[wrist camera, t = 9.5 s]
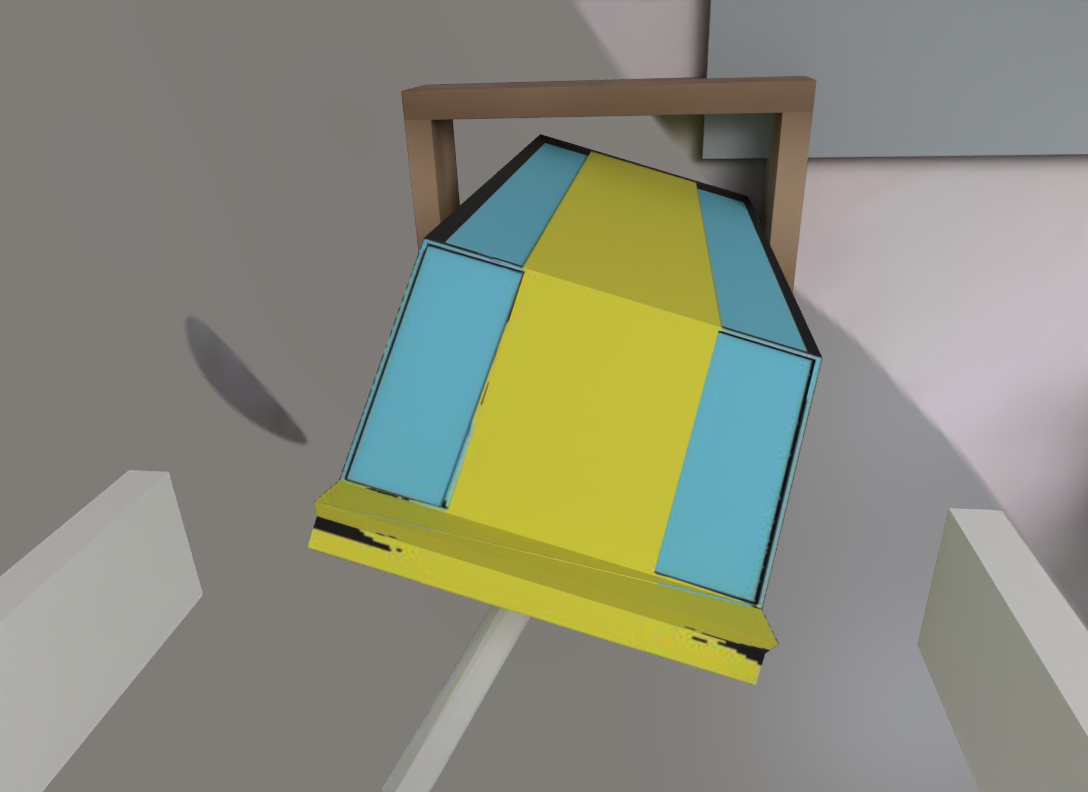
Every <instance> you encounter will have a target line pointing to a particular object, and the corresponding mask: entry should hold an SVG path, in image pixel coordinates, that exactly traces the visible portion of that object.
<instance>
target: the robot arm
mask: <svg viewBox="0 0 1088 792" xmlns="http://www.w3.org/2000/svg"><path fill="white" fill-rule="evenodd" d="M202 595H203V593H202V590H201V586H200V583H199V579H198V575H197V572H196V568H195V565H194V561H193V558H192V554H191V551H190V547H189V543H188V540H187V536H186V533H185V529H184V526H183V522H182V519H181V515H180V511H179V508H178V504H177V501H176V497H175V493H174V490H173V486H172V483H171V479H170V476H169V472H152V471H132V470H131V471H130V470H129V471H128V472H127V473H126V474H124V475H123V476H122V477H121V478H119V480H117V481H116V482H115V483H113V484H112V485H111V486H110V487H109V488H107V489H106V490H105V491H104V492H102V493H101V494H100V495H99V496H98V497H96V498H95V499H94V500H93V501H92V502H90V503H89V504H88V505H87V506H85V507H84V508H83V509H82V510H81V511H79V512H78V513H77V514H76V515H75V516H73V517H72V518H71V519H70V520H69V521H67V522H66V523H65V524H64V525H62V526H61V527H60V528H59V529H58V530H56V531H55V532H54V533H53V534H52V535H50V536H49V537H48V538H47V539H45V540H44V541H43V542H42V543H41V544H40V545H38V546H37V547H36V548H35V549H33V550H32V551H31V552H30V553H28V554H27V555H26V556H25V557H24V558H22V559H21V560H20V561H19V562H17V563H16V564H15V565H14V566H13V567H11V568H10V569H9V570H8V571H7V572H5V573H4V574H3V575H2V576H0V792H43V790H44V789H45V788H46V787H47V785H48V784H49V783H50V782H51V780H52V779H53V778H54V777H55V775H56V774H57V773H58V772H59V770H60V769H61V768H62V767H63V765H64V764H65V763H66V762H67V761H68V760H69V758H70V757H71V756H72V755H73V753H74V752H75V751H76V750H77V749H78V747H79V746H80V745H81V743H82V742H83V741H84V740H85V739H86V737H87V736H88V735H89V734H90V732H91V731H92V730H93V729H94V728H95V726H96V725H97V724H98V723H99V722H100V720H101V719H102V718H103V717H104V715H105V714H106V713H107V712H108V710H109V709H110V708H111V707H112V706H113V704H114V703H115V702H116V701H117V699H118V698H119V697H120V696H121V694H122V693H123V692H124V691H125V690H126V688H127V687H128V686H129V685H130V683H131V682H132V681H133V680H134V678H135V677H136V676H137V675H138V674H139V672H140V671H141V670H142V669H143V667H144V666H145V665H146V664H147V663H148V661H149V660H150V659H151V658H152V656H153V655H154V654H155V653H156V652H157V650H158V649H159V648H160V647H161V645H162V644H163V643H164V642H165V640H166V639H167V638H168V637H169V636H170V634H171V633H172V632H173V631H174V629H175V628H176V627H177V626H178V624H179V623H180V622H181V621H182V620H183V618H184V617H185V616H186V615H187V613H188V612H189V611H190V610H191V609H192V607H193V606H194V605H195V604H196V602H197V601H198V600H199V599H200V597H201V596H202ZM918 646H919V649H920V651H921V654H922V656H923V658H924V660H925V663H926V665H927V668H928V670H929V672H930V675H931V677H932V679H933V682H934V684H935V686H936V689H937V692H938V694H939V696H940V699H941V701H942V703H943V705H944V708H945V710H946V713H947V715H948V718H949V720H950V722H951V725H952V727H953V729H954V732H955V734H956V737H957V739H958V741H959V743H960V746H961V748H962V750H963V753H964V756H965V758H966V760H967V763H968V765H969V767H970V770H971V772H972V774H973V777H974V779H975V782H976V784H977V786H978V789H979V791H980V792H1088V630H1087V629H1086V628H1085V626H1084V625H1083V623H1082V622H1081V621H1080V619H1079V618H1078V616H1077V615H1076V614H1075V612H1074V611H1073V609H1072V608H1071V607H1070V605H1069V604H1068V602H1067V601H1066V600H1065V598H1064V597H1063V595H1062V594H1061V593H1060V591H1059V590H1058V588H1057V587H1056V586H1055V584H1054V583H1053V582H1052V580H1051V579H1050V577H1049V576H1048V575H1047V573H1046V572H1045V570H1044V569H1043V568H1042V566H1041V565H1040V563H1039V562H1038V561H1037V559H1036V558H1035V556H1034V555H1033V554H1032V552H1031V551H1030V549H1029V548H1028V547H1027V545H1026V544H1025V542H1024V541H1023V540H1022V538H1021V537H1020V535H1019V534H1018V533H1017V531H1016V530H1015V528H1014V527H1013V526H1012V524H1011V523H1010V521H1009V520H1008V519H1007V517H1006V516H1005V515H1004V513H1003V512H1002V511H1001V510H979V509H978V510H977V509H957V508H956V509H955V508H949V510H948V514H947V518H946V522H945V527H944V531H943V536H942V540H941V544H940V549H939V553H938V557H937V561H936V566H935V570H934V575H933V579H932V583H931V588H930V592H929V597H928V601H927V605H926V610H925V614H924V618H923V623H922V627H921V631H920V636H919V640H918Z"/></svg>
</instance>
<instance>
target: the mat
mask: <svg viewBox="0 0 1088 792" xmlns="http://www.w3.org/2000/svg"><path fill="white" fill-rule="evenodd" d="M779 76H807V77H810V78H812V79H815V80H817V81H816V90H815V99H814V108H813V117H812V126H811V135H810V143H809V152H808V158H811V157H892V156H974V155H1055V154H1088V0H710V15H709V34H708V52H707V70H706V78H742V77H779ZM772 124H773V113H734V114H704V126H703V144H702V158H703V159H729V158H769V157H770V146H771V135H772Z"/></svg>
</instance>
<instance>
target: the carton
mask: <svg viewBox="0 0 1088 792" xmlns="http://www.w3.org/2000/svg"><path fill="white" fill-rule="evenodd" d="M821 362H822V356H821V354H820V352H819V350H818V348H817V345H816V343H815V341H814V339H813V337H812V334H811V332H810V330H809V328H808V326H807V324H806V322H805V319H804V317H803V315H802V313H801V311H800V309H799V306H798V304H797V302H796V300H795V298H794V295H793V293H792V291H791V289H790V287H789V285H788V282H787V280H786V278H785V276H784V274H783V272H782V269H781V267H780V265H779V263H778V261H777V259H776V256H775V254H774V252H773V250H772V248H771V246H770V243H769V241H768V239H767V237H766V235H765V233H764V230H763V228H762V226H761V224H760V222H759V220H758V217H757V215H756V213H755V211H754V209H753V207H752V204H751V202H750V200H749V198H748V196H745V195H741V194H738V193H735V192H731V191H728V190H725V189H721V188H718V187H715V186H711V185H708V184H705V183H701V182H698V181H694V180H691V179H688V178H684V177H681V176H678V175H674V174H671V173H668V172H665V171H661V170H657V169H655V168H651V167H648V166H645V165H641V164H638V163H635V162H631V161H628V160H625V159H621V158H618V157H614V156H611V155H607V154H605V153H601V152H598V151H594V150H591V149H588V148H585V147H581V146H578V145H575V144H571V143H568V142H564V141H561V140H558V139H554V138H551V137H548V136H544V135H541V134H540V135H539V136H538V137H537V138H536V139H535V140H533V141H532V142H531V143H530V144H529V145H528V146H527V147H526V148H524V149H523V150H522V151H521V152H520V153H519V154H518V155H517V156H515V157H514V158H513V159H512V160H511V161H510V162H509V163H508V164H507V165H505V166H504V167H503V168H502V169H501V170H500V171H498V172H497V173H496V174H495V175H494V176H493V177H492V178H491V179H489V180H488V181H487V182H486V183H485V184H484V185H483V186H482V187H480V188H479V189H478V190H477V191H476V192H475V193H474V194H473V195H471V196H470V197H469V198H468V199H467V200H466V201H465V202H464V203H462V204H461V205H460V206H459V207H458V208H457V209H456V210H455V211H453V212H452V213H451V214H450V215H449V216H448V217H447V218H446V219H444V220H443V221H442V222H441V223H440V224H439V225H438V226H437V227H435V228H434V229H433V230H432V231H431V232H430V233H429V234H428V235H426V236H425V237H424V239H423V242H422V245H421V247H420V250H419V253H418V256H417V259H416V262H415V265H414V268H413V271H412V273H411V276H410V279H409V282H408V285H407V288H406V291H405V293H404V296H403V299H402V302H401V305H400V308H399V310H398V313H397V317H396V319H395V322H394V325H393V328H392V330H391V333H390V337H389V339H388V342H387V345H386V348H385V351H384V353H383V356H382V359H381V362H380V365H379V368H378V370H377V373H376V376H375V379H374V382H373V385H372V388H371V390H370V393H369V397H368V399H367V402H366V405H365V408H364V410H363V413H362V416H361V419H360V422H359V425H358V428H357V430H356V433H355V436H354V439H353V442H352V445H351V448H350V451H349V454H348V456H347V459H346V462H345V465H344V468H343V471H342V474H341V476H340V479H339V481H337V482H336V483H335V484H334V485H333V486H332V487H331V488H329V489H328V490H327V491H326V492H324V493H323V494H322V495H321V496H320V497H319V498H317V499H316V500H315V501H314V503H315V508H316V513H317V518H316V521H315V525H314V528H313V531H312V534H311V538H310V541H309V544H308V547H307V548H308V549H312V550H315V551H318V552H321V553H324V554H328V555H331V556H334V557H337V558H341V559H344V560H348V561H351V562H354V563H357V564H361V565H363V566H367V567H370V568H374V569H376V570H380V571H383V572H386V573H390V574H393V575H396V576H399V577H403V578H406V579H409V580H413V581H416V582H419V583H422V584H425V585H428V586H432V587H435V588H438V589H442V590H445V591H448V592H451V593H454V594H458V595H461V596H464V597H467V598H471V599H474V600H477V601H481V602H484V603H487V604H490V605H492V606H491V607H490V609H489V611H488V612H487V614H486V616H485V618H484V619H483V621H482V623H481V624H480V626H479V628H478V629H477V631H476V633H475V634H474V636H473V638H472V640H471V641H470V643H469V644H468V646H467V648H466V649H465V651H464V653H463V655H462V656H461V658H460V659H459V661H458V663H457V665H456V666H455V668H454V669H453V671H452V673H451V675H450V676H449V678H448V679H447V681H446V683H445V685H444V686H443V688H442V690H441V691H440V693H439V695H438V697H437V698H436V700H435V701H434V703H433V705H432V706H431V708H430V710H429V711H428V713H427V715H426V716H425V718H424V720H423V721H422V723H421V725H420V726H419V728H418V730H417V731H416V733H415V735H414V737H413V738H412V740H411V742H410V743H409V745H408V747H407V748H406V750H405V752H404V753H403V755H402V757H401V758H400V760H399V762H398V764H397V765H396V767H395V768H394V770H393V772H392V773H391V775H390V777H389V778H388V780H387V782H386V784H385V785H384V787H383V789H382V790H381V791H383V792H430V791H431V789H432V787H433V785H434V784H435V782H436V780H437V778H438V777H439V775H440V773H441V771H442V770H443V768H444V766H445V765H446V762H447V761H448V759H449V757H450V756H451V754H452V752H453V751H454V749H455V747H456V745H457V744H458V742H459V740H460V738H461V737H462V735H463V733H464V731H465V730H466V728H467V726H468V724H469V723H470V721H471V719H472V717H473V716H474V714H475V712H476V710H477V709H478V707H479V705H480V703H481V702H482V700H483V698H484V697H485V695H486V693H487V691H488V689H489V688H490V686H491V684H492V682H493V681H494V679H495V677H496V676H497V674H498V672H499V670H500V669H501V667H502V665H503V663H504V662H505V660H506V658H507V656H508V655H509V653H510V651H511V649H512V647H513V646H514V644H515V642H516V641H517V639H518V637H519V635H520V634H521V632H522V630H523V628H524V627H525V625H526V623H527V622H528V620H529V618H530V617H532V618H536V619H539V620H542V621H545V622H549V623H552V624H555V625H559V626H562V627H565V628H568V629H572V630H575V631H578V632H581V633H585V634H588V635H591V636H594V637H598V638H601V639H604V640H607V641H610V642H614V643H617V644H620V645H624V646H627V647H630V648H633V649H636V650H640V651H644V652H646V653H650V654H653V655H656V656H659V657H663V658H666V659H669V660H672V661H676V662H679V663H682V664H685V665H689V666H692V667H696V668H698V669H702V670H705V671H708V672H711V673H715V674H718V675H721V676H725V677H728V678H731V679H734V680H738V681H741V682H744V683H747V684H751V685H754V686H755V685H756V682H757V679H758V675H759V672H760V669H761V665H762V662H763V659H764V655H765V653H767V652H768V651H769V650H771V649H772V648H774V647H775V646H776V645H778V644H779V643H778V641H777V639H776V637H775V635H774V633H773V631H772V629H771V627H770V625H769V623H768V621H767V618H766V617H765V614H764V612H763V610H762V608H763V604H764V600H765V596H766V591H767V587H768V583H769V579H770V575H771V571H772V567H773V562H774V558H775V554H776V550H777V546H778V541H779V537H780V533H781V528H782V524H783V521H784V516H785V512H786V508H787V504H788V500H789V495H790V491H791V487H792V483H793V479H794V474H795V470H796V466H797V462H798V458H799V454H800V449H801V445H802V441H803V437H804V433H805V428H806V424H807V420H808V416H809V412H810V408H811V403H812V399H813V395H814V391H815V386H816V383H817V378H818V374H819V370H820V366H821Z"/></svg>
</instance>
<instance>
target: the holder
mask: <svg viewBox="0 0 1088 792" xmlns="http://www.w3.org/2000/svg"><path fill="white" fill-rule="evenodd" d="M816 81H817V80H815V79H812V78H810V77H807V76H779V77H742V78H706V77H693V78H657V79H620V80H586V81H551V82H549V81H548V82H510V83H474V84H440V85H438V84H437V85H423V86H420V87H415V88H412V89H408V90H404V91H402V102H403V111H404V120H405V130H406V139H407V149H408V158H409V167H410V176H411V186H412V195H413V204H414V213H415V223H416V232H417V242H418V250H420V247H421V245H422V242H423V239H424V237H425V236H426V235H428V234H429V233H430V232H431V231H432V230H433V229H434V228H435V227H437V226H438V225H439V224H440V223H441V222H442V221H443V220H444V219H446V218H447V217H448V216H449V215H450V214H451V213H452V212H453V211H455V210H456V209H457V208H458V207H459V206H460V203H459V191H458V179H457V167H456V154H455V142H454V130H453V119H490V118H539V117H584V116H585V117H586V116H587V117H588V116H634V115H635V116H636V115H685V114H734V113H773V124H772V135H771V146H770V157H769V158H767V161H766V172H765V183H764V195H763V206H762V217H761V226H762V228H763V230H764V233H765V235H766V237H767V239H768V241H769V243H770V246H771V248H772V250H773V252H774V254H775V256H776V259H777V261H778V263H779V265H780V267H781V269H782V272H783V274H784V276H785V278H786V280H787V282H788V285H789V287H790V289H791V291H792V293H793V285H794V276H795V267H796V259H797V250H798V241H799V232H800V223H801V214H802V205H803V197H804V188H805V179H806V170H807V161H808V152H809V143H810V135H811V126H812V117H813V108H814V99H815V90H816Z"/></svg>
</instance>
